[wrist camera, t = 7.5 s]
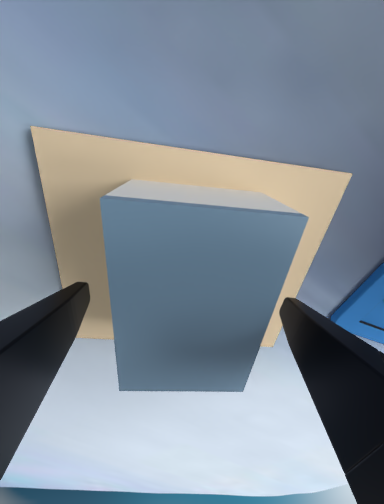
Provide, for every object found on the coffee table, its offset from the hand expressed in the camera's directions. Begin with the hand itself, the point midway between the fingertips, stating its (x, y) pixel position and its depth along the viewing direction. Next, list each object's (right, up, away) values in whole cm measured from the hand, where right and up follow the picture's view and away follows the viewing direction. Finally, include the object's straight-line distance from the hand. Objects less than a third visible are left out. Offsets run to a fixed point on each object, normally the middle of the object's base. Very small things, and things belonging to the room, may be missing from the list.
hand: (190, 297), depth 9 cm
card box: (0, +1, +2) cm, 2 cm away
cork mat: (0, +1, +3) cm, 3 cm away
